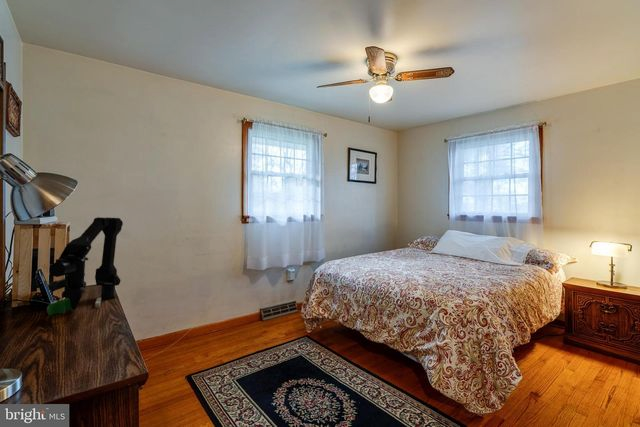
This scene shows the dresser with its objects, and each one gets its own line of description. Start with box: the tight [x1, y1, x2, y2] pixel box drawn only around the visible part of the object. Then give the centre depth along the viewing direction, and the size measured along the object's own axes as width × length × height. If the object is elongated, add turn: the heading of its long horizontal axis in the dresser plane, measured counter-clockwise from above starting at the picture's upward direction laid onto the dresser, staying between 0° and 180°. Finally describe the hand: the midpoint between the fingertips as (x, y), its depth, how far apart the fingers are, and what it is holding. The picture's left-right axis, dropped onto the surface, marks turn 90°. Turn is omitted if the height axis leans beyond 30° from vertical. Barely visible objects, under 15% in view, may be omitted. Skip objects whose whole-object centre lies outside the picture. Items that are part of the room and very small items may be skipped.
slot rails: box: [46, 296, 102, 314], centre depth 134 cm, size 12×18×2 cm
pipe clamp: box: [47, 298, 72, 316], centre depth 127 cm, size 11×4×5 cm, turn 3°
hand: (73, 309), depth 127 cm, fingers closed
